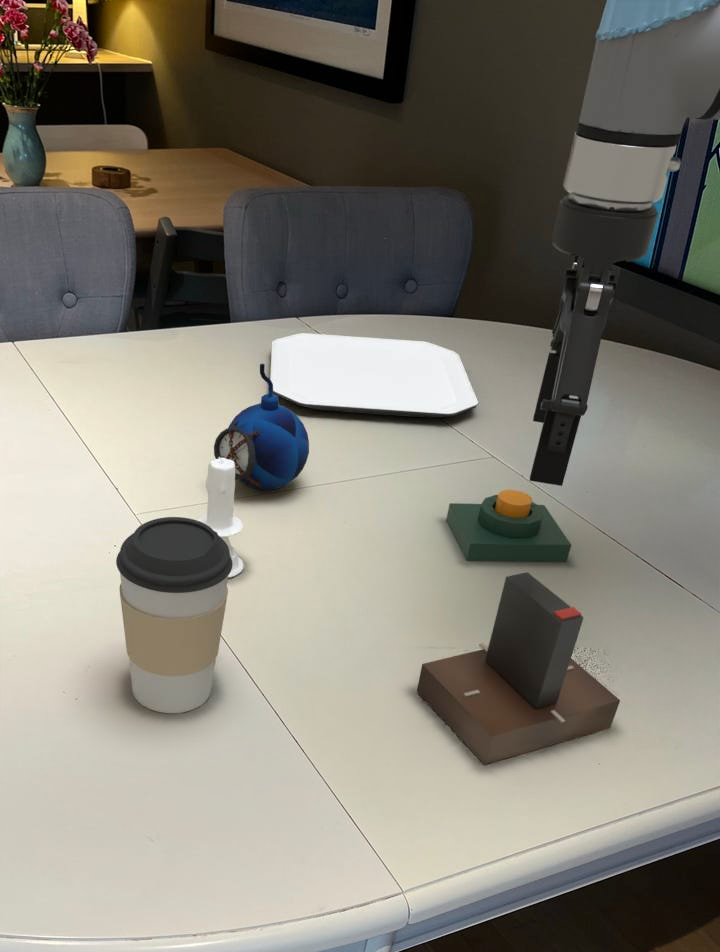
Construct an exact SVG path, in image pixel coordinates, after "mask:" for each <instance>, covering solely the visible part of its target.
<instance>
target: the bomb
mask: <svg viewBox="0 0 720 952" xmlns="http://www.w3.org/2000/svg"><path fill="white" fill-rule="evenodd" d="M259 375H260V377H261V379H262V380H263V381H265V382H266V383H267V385H268V393H265V394H263V395H262V396H261V398H260V402H259V403H256V404H254V405H250V406H248V407H246V408H244V409H242V410H241V411H239V413H238V414H236V415H235V416H234V418H233V419H232V421H230V423H229V425H228V427H226V428H225V429H224V430H222V431H220V432H219V434H218V435H217V437H216V438H215V441H214V445H213V455H214V459H219V457H220V458H225V459H228V460H233V461H234V463H235V480H237V481H240V482H241V483H242V484H244V485H245V486H247V487H250V488H252V489H255V490H262V491H273V490H276V489H279V488H283V487H286V486H287V485H289V484H290V483H292V482H293V481H294V480H295V479H296V478H298V476H299V475H300V474H301V473H302V471H303V470H304V469H305V466H306V464H307V461H308V458H309V454H310V440H309V434H308V432H307V429H306V426H305V425H304V423H303V421H302V420H301V419H300V418H299V416H298V415H297V414H296V413H295V412H293V411H292V410H291V409H289V408H287V407H286V406H283V405H280V398H279V396H278V395H276V394H274V393H273V384H272V381H271V380H270V377H268V376H267V375H266V373H265V363H260V364H259Z"/></svg>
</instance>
